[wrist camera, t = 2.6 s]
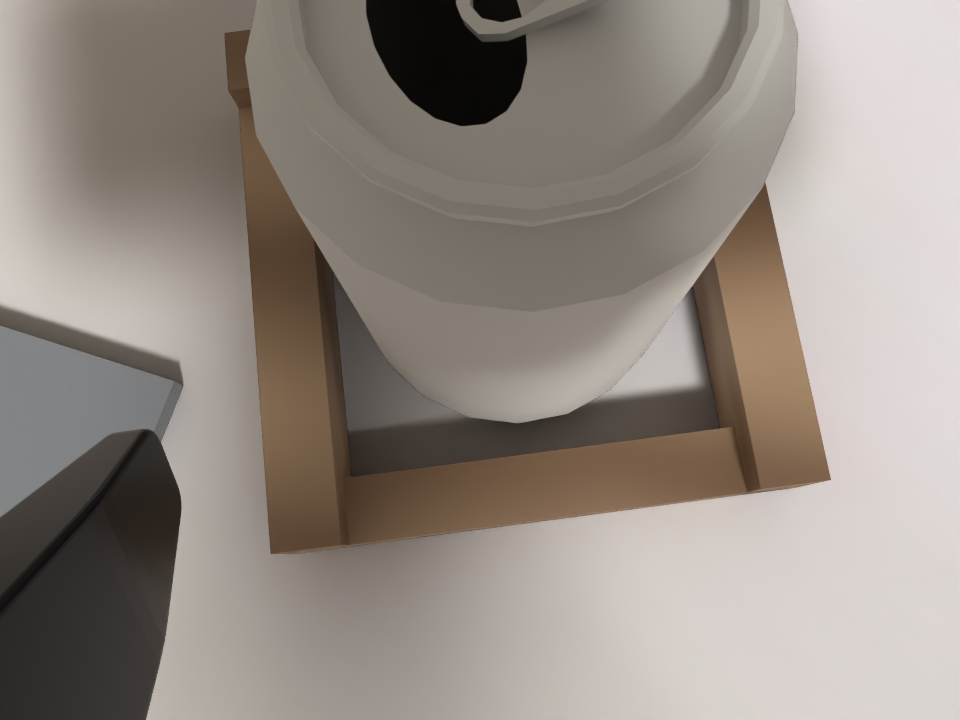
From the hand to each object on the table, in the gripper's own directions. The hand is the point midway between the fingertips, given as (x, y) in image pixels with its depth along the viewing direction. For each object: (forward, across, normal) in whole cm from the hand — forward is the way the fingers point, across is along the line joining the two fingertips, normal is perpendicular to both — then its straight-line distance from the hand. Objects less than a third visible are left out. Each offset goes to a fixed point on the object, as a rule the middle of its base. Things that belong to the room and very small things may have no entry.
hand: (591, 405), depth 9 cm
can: (+12, 0, +5) cm, 13 cm away
